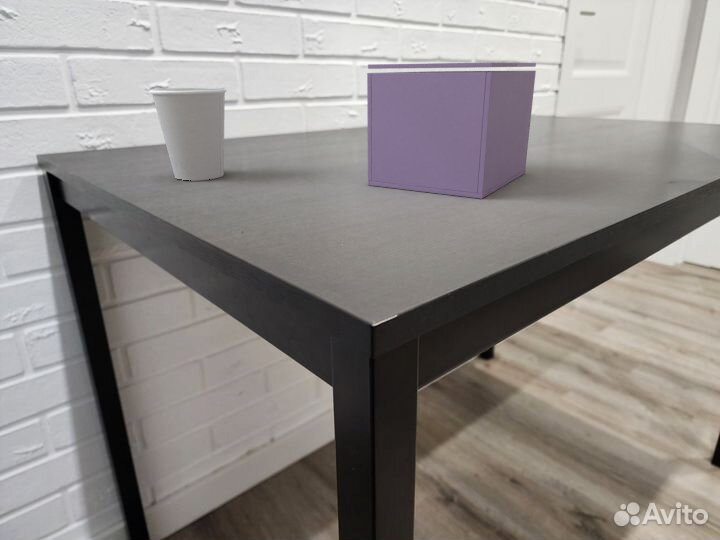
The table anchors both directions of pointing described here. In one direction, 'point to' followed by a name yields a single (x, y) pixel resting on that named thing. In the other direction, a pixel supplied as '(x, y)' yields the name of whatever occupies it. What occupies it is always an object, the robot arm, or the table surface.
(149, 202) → the table surface
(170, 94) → the dixie cup
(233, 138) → the table surface
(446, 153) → the box
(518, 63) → the box lid
